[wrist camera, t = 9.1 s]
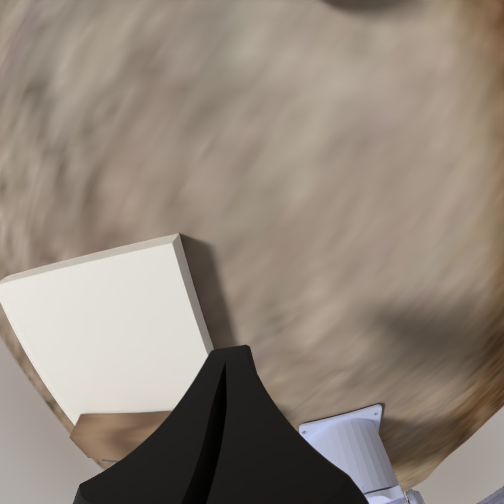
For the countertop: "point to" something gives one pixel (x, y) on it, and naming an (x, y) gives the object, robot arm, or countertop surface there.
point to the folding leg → (114, 433)
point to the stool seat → (112, 328)
